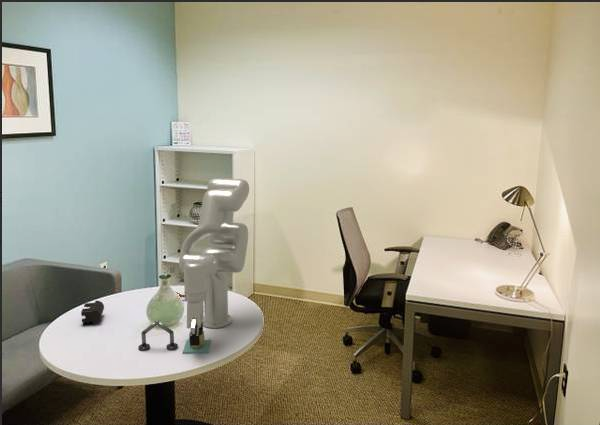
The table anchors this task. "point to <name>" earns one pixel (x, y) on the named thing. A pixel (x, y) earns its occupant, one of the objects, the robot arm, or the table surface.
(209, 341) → the mat
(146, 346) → the pipe arch
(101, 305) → the dark brown lumpy block
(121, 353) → the table surface
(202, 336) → the bronze ring
